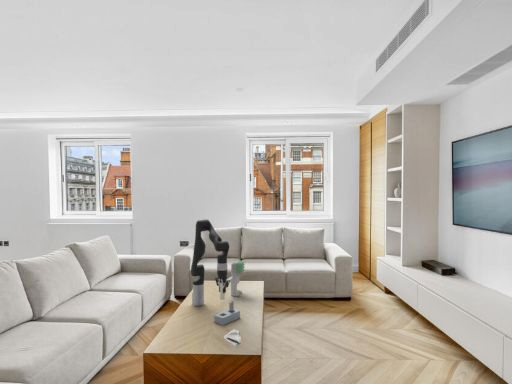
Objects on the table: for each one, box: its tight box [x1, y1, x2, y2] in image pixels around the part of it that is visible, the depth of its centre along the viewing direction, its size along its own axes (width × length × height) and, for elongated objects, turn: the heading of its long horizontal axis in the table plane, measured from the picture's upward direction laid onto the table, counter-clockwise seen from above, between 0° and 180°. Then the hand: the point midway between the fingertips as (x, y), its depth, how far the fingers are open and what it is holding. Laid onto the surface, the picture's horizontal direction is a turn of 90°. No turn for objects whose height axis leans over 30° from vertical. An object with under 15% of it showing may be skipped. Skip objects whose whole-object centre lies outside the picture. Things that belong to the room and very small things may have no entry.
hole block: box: [213, 308, 241, 326], centre depth 237 cm, size 9×18×5 cm, turn 140°
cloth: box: [223, 328, 242, 347], centre depth 208 cm, size 26×14×2 cm, turn 174°
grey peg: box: [228, 300, 235, 313], centre depth 241 cm, size 3×3×12 cm
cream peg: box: [219, 282, 226, 300], centre depth 234 cm, size 3×3×12 cm
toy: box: [227, 260, 245, 297], centre depth 295 cm, size 30×10×30 cm, turn 167°
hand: (222, 292), depth 234 cm, fingers closed on cream peg, 3 cm apart
